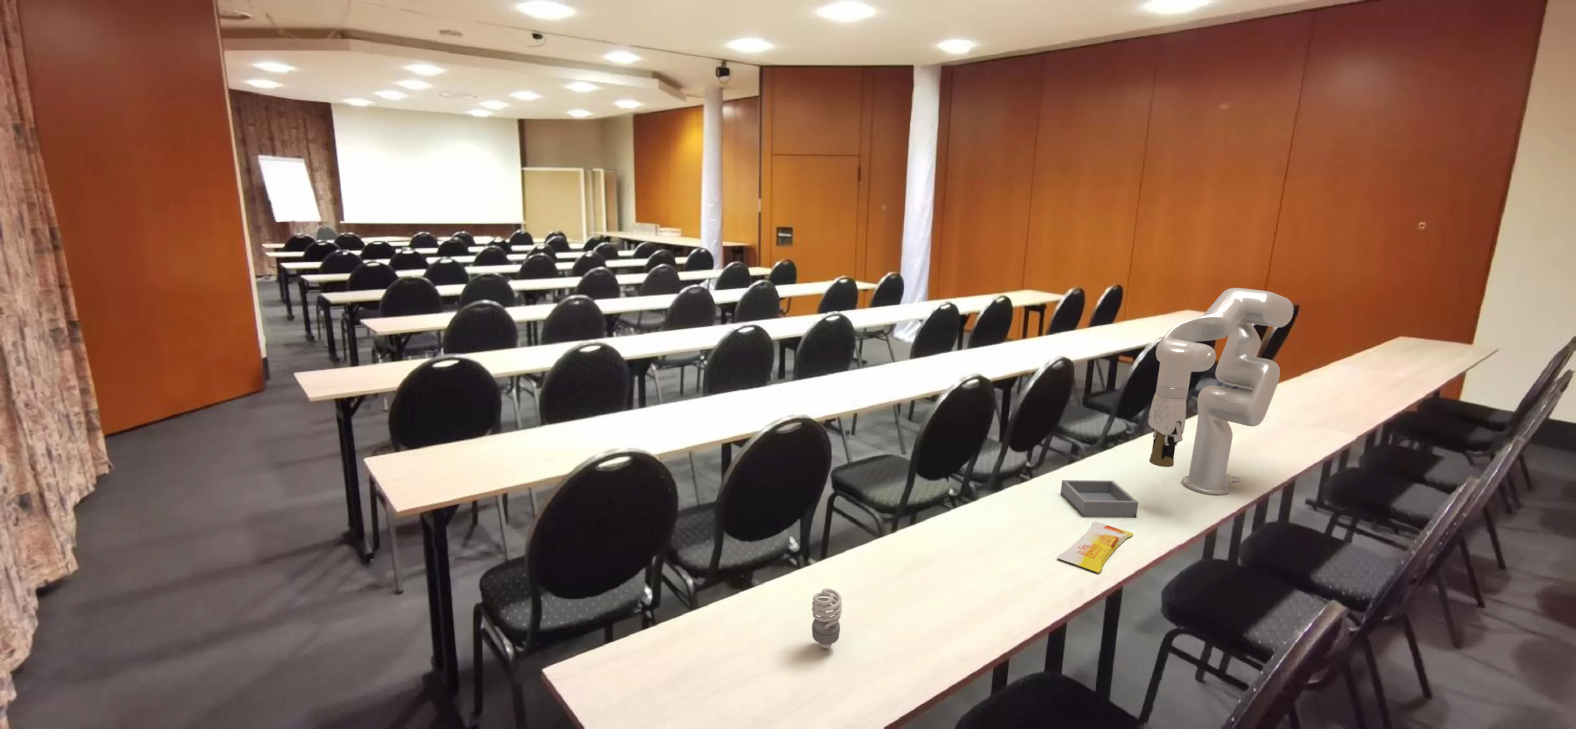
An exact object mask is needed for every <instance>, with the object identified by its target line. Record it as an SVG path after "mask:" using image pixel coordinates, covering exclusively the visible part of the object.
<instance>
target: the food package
mask: <svg viewBox="0 0 1576 729" xmlns="http://www.w3.org/2000/svg"><path fill="white" fill-rule="evenodd" d="M1133 535H1134V533H1133V532H1131V531H1127V530H1125V529H1121V528H1118V527H1115V526H1111V525H1108V524H1105V523H1103V522H1099V521H1093V522H1092V523H1091V526H1090V528H1089V529H1088V530H1087V532H1086V533H1085V534H1083V536H1081V537H1080V538H1079V539H1078V540H1077V542H1075V543H1074V544H1073V545H1072V546H1071V547H1069V548H1068V549H1067V550H1066V551H1064V552H1062V553H1060V554H1059V555H1058V556H1057V557H1056V558H1057V559H1059V560H1062V561H1064V562H1067V563H1070V564H1073V565H1075V566H1078V567H1081V568H1083V569H1086V570H1089V571H1092V572H1096V573H1101V571H1103V566H1104V564H1105V563H1106V561H1107V560H1108V559H1109V557H1110V555H1111V554H1113V552H1114V551H1115V550H1117V548H1118V547H1119V546H1120V545H1121V544H1122V543H1123V542H1124V541H1125V540H1126V539H1128V538H1130V537H1132V536H1133Z"/></svg>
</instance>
